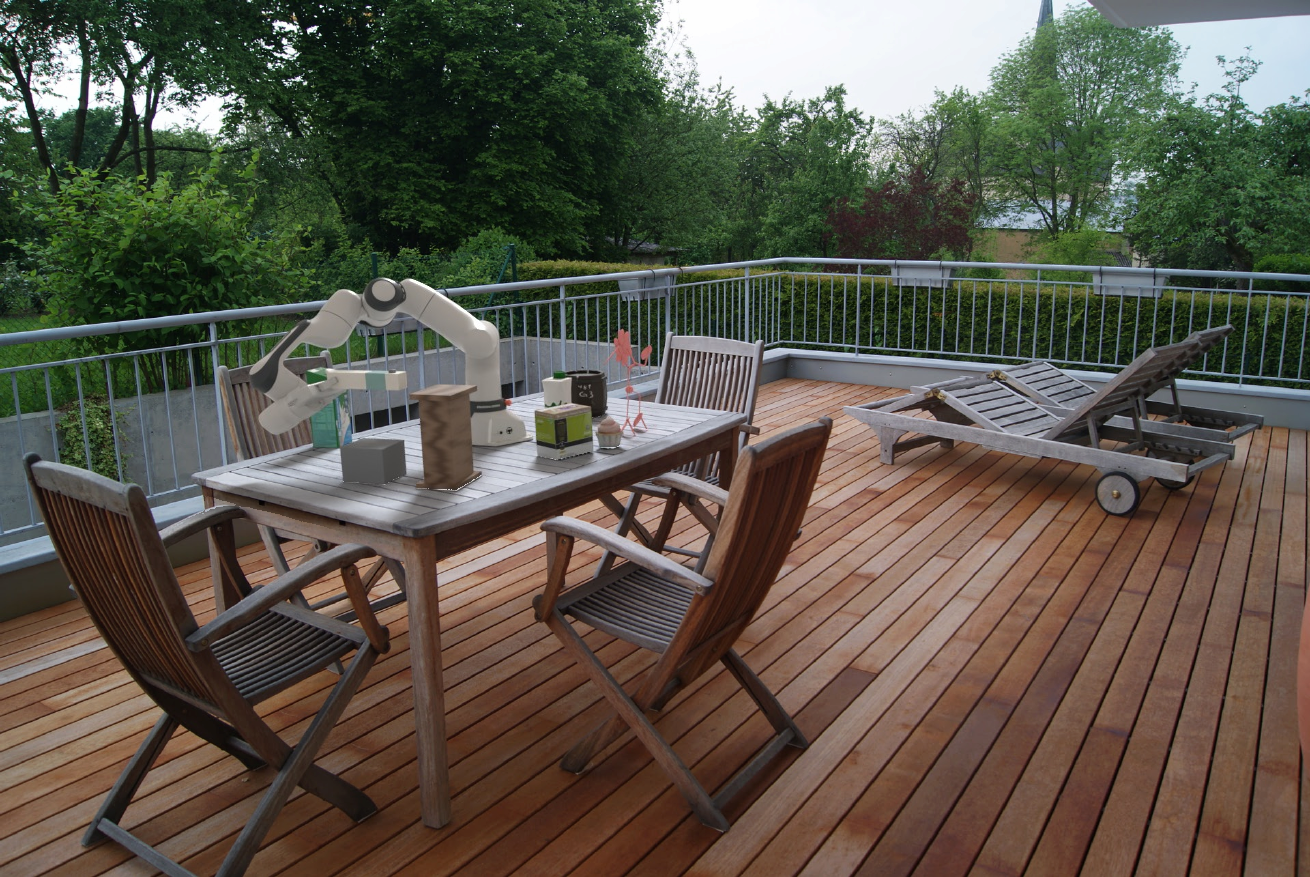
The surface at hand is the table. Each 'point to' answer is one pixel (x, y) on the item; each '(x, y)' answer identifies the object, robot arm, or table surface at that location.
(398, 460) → the podium
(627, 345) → the pink stick figure
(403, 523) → the table surface
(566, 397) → the soya milk
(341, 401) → the milk carton
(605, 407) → the dark brown pot
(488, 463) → the table surface
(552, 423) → the tea box
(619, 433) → the cupcake
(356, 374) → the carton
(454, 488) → the stand
